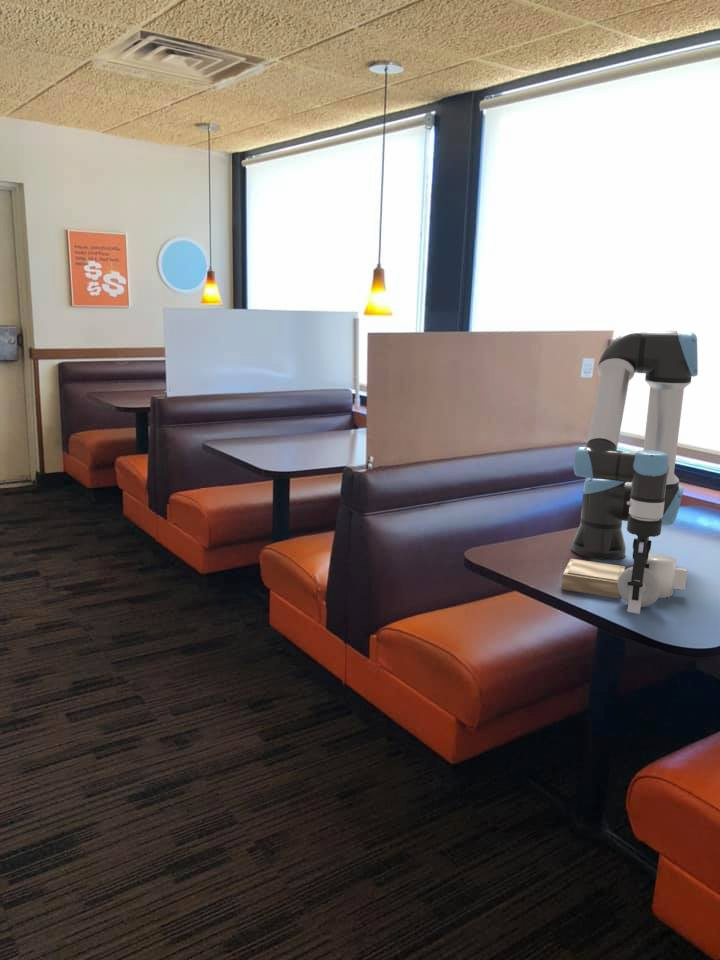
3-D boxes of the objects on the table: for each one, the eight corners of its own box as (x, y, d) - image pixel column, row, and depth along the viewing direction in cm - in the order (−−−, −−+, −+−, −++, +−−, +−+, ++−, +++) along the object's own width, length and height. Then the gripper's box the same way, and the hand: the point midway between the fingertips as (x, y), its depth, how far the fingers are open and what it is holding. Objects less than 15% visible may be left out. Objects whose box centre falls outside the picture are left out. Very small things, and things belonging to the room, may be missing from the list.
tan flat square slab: (569, 572, 206) (570, 557, 205) (623, 580, 201) (625, 565, 200) (561, 589, 194) (562, 573, 193) (619, 598, 188) (620, 581, 187)
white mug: (639, 584, 199) (643, 551, 197) (684, 591, 194) (688, 557, 193) (637, 594, 191) (641, 560, 189) (684, 602, 187) (688, 567, 185)
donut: (613, 603, 185) (617, 564, 183) (617, 599, 188) (621, 560, 185) (656, 613, 179) (661, 573, 177) (659, 609, 182) (664, 569, 180)
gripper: (632, 503, 191) (623, 584, 196) (624, 527, 169) (614, 617, 173) (664, 507, 188) (654, 588, 193) (660, 532, 166) (649, 623, 170)
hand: (635, 602), depth 183 cm, fingers open, 13 cm apart
